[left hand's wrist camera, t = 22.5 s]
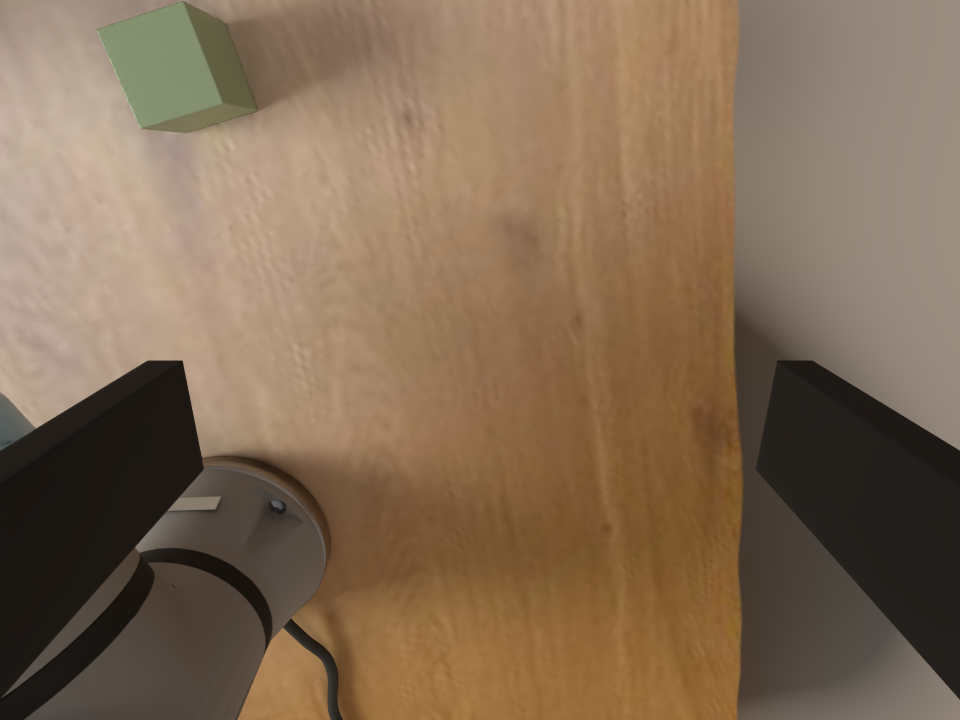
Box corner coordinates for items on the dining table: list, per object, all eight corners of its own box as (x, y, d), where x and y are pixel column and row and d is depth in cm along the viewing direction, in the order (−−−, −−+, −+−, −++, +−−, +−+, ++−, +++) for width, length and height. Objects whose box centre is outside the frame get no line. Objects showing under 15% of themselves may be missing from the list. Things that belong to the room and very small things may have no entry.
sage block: (258, 110, 35) (223, 103, 30) (185, 133, 35) (140, 129, 30) (225, 22, 33) (183, 0, 28) (149, 47, 33) (95, 29, 29)
